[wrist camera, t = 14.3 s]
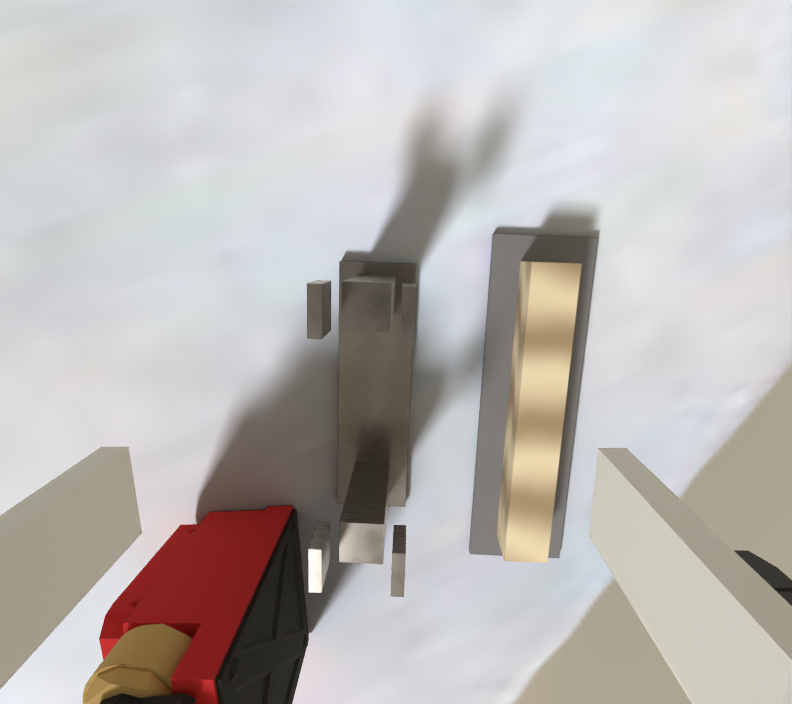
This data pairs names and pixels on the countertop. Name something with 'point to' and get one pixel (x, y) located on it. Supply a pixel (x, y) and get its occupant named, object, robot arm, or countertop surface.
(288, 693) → the red coffee machine
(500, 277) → the mat
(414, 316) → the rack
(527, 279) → the rail
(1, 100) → the countertop surface
